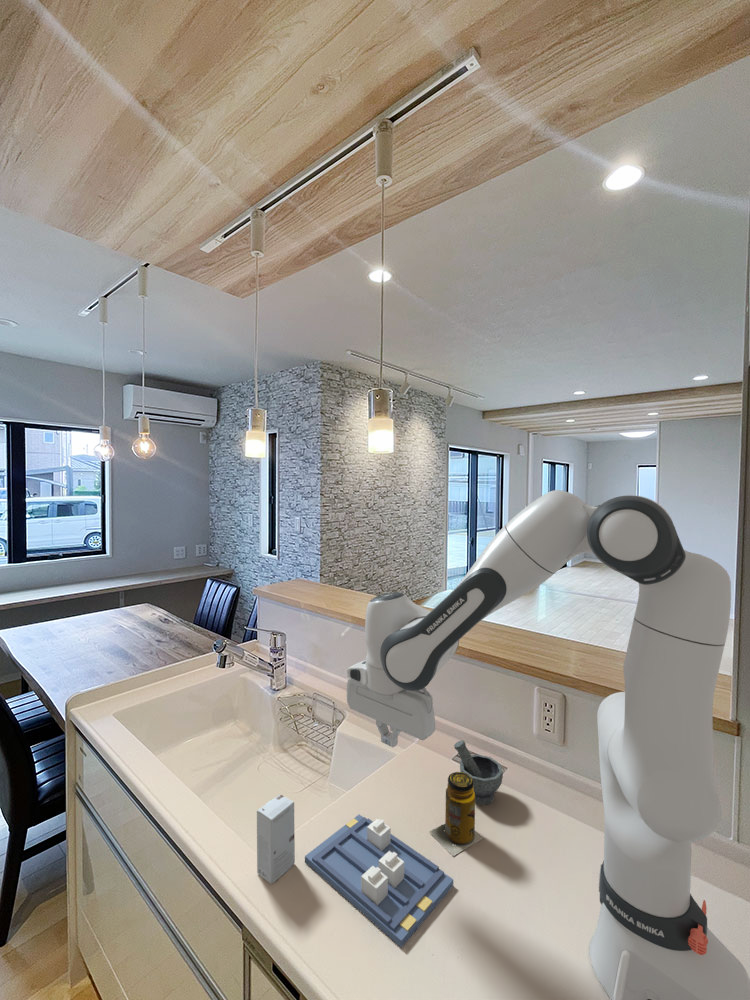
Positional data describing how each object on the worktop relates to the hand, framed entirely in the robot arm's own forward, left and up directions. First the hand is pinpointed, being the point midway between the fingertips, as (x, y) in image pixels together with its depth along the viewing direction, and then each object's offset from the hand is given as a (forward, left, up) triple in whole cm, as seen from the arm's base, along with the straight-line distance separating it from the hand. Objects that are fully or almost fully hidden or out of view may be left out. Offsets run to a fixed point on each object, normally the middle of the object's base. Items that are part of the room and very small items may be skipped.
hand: (389, 743), depth 90 cm
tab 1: (+2, +1, -20) cm, 20 cm away
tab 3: (-6, +6, -20) cm, 22 cm away
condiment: (-8, -12, -22) cm, 26 cm away
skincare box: (+13, +18, -22) cm, 31 cm away
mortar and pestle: (-5, -26, -22) cm, 34 cm away
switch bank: (-2, +6, -22) cm, 23 cm away
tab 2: (-6, +10, -20) cm, 23 cm away
